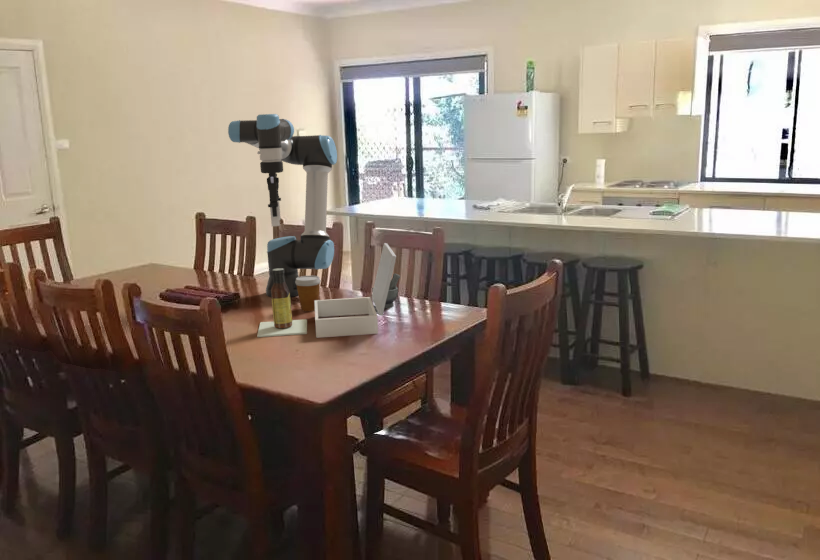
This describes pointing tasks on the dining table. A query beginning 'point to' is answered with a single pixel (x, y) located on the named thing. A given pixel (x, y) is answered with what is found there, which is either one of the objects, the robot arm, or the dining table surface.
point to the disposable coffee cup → (308, 291)
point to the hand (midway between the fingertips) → (276, 222)
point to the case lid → (383, 278)
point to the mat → (270, 330)
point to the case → (345, 324)
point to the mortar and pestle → (392, 292)
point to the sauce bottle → (281, 300)
